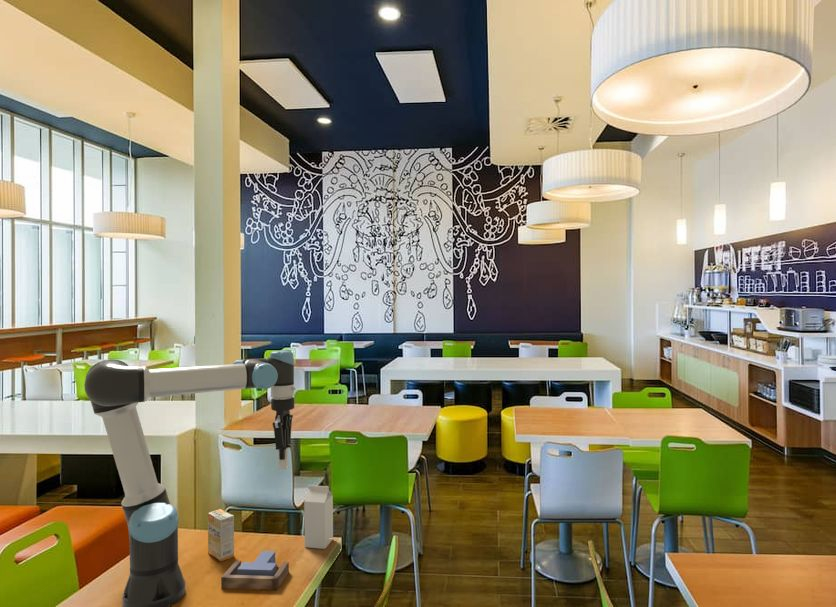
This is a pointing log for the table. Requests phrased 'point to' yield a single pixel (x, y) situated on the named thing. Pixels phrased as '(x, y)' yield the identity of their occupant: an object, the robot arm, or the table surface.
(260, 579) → the walnut dock
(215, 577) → the table surface
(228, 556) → the supplement box
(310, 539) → the milk carton
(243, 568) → the slate blue t block
